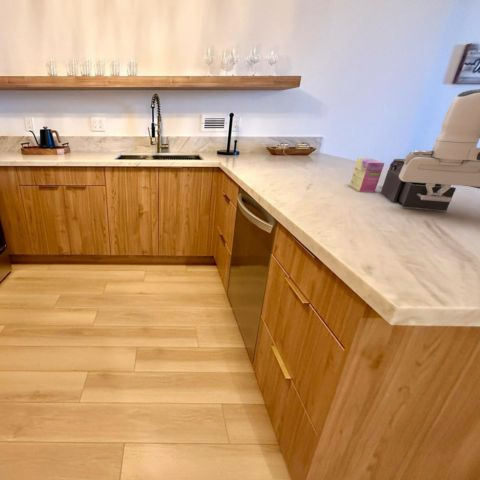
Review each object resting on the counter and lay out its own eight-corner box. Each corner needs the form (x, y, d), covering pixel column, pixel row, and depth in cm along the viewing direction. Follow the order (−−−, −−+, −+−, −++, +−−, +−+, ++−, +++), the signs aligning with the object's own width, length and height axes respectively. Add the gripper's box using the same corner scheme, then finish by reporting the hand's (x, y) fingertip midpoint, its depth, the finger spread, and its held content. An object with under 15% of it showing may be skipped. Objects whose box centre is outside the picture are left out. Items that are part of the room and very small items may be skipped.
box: (375, 193, 113) (384, 162, 108) (359, 192, 114) (368, 162, 109) (363, 186, 122) (372, 158, 117) (349, 186, 123) (356, 158, 118)
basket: (454, 215, 86) (465, 192, 83) (408, 211, 90) (417, 188, 87) (427, 199, 102) (435, 179, 99) (389, 196, 106) (396, 176, 103)
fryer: (437, 207, 97) (448, 180, 93) (392, 203, 101) (401, 177, 97) (419, 196, 109) (428, 172, 105) (380, 193, 113) (388, 169, 109)
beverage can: (387, 191, 115) (397, 161, 110) (379, 187, 122) (388, 158, 117) (407, 192, 114) (418, 161, 109) (398, 188, 120) (408, 158, 115)
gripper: (412, 151, 83) (395, 197, 89) (505, 155, 77) (480, 204, 83) (404, 148, 89) (389, 192, 95) (490, 152, 82) (468, 198, 88)
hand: (432, 198), depth 89 cm, fingers closed, pressing on basket
